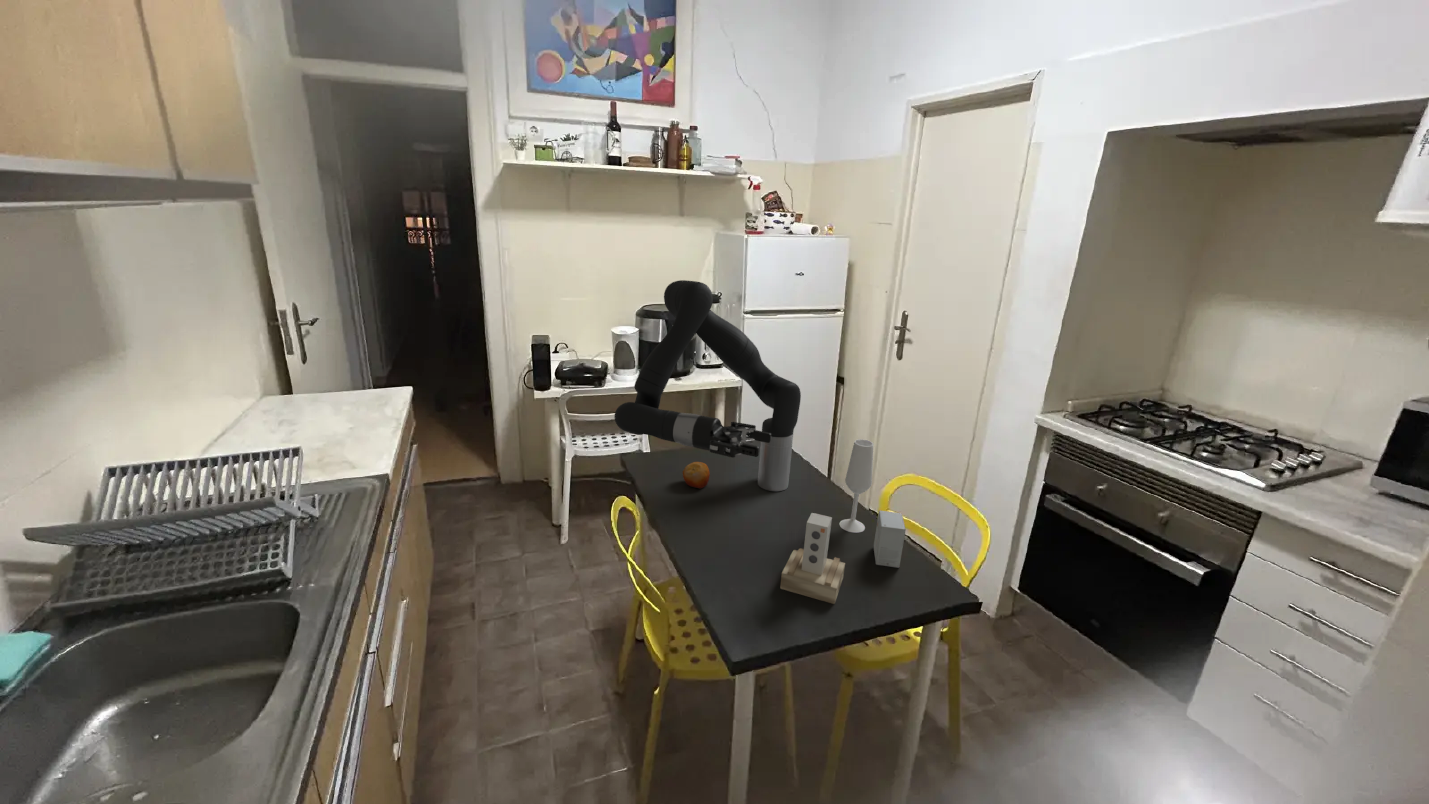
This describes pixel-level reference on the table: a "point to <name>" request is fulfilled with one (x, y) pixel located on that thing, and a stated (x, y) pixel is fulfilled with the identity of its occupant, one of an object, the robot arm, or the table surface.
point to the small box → (889, 539)
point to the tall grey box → (816, 543)
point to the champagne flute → (858, 479)
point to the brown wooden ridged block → (813, 578)
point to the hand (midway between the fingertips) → (765, 444)
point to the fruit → (696, 474)
